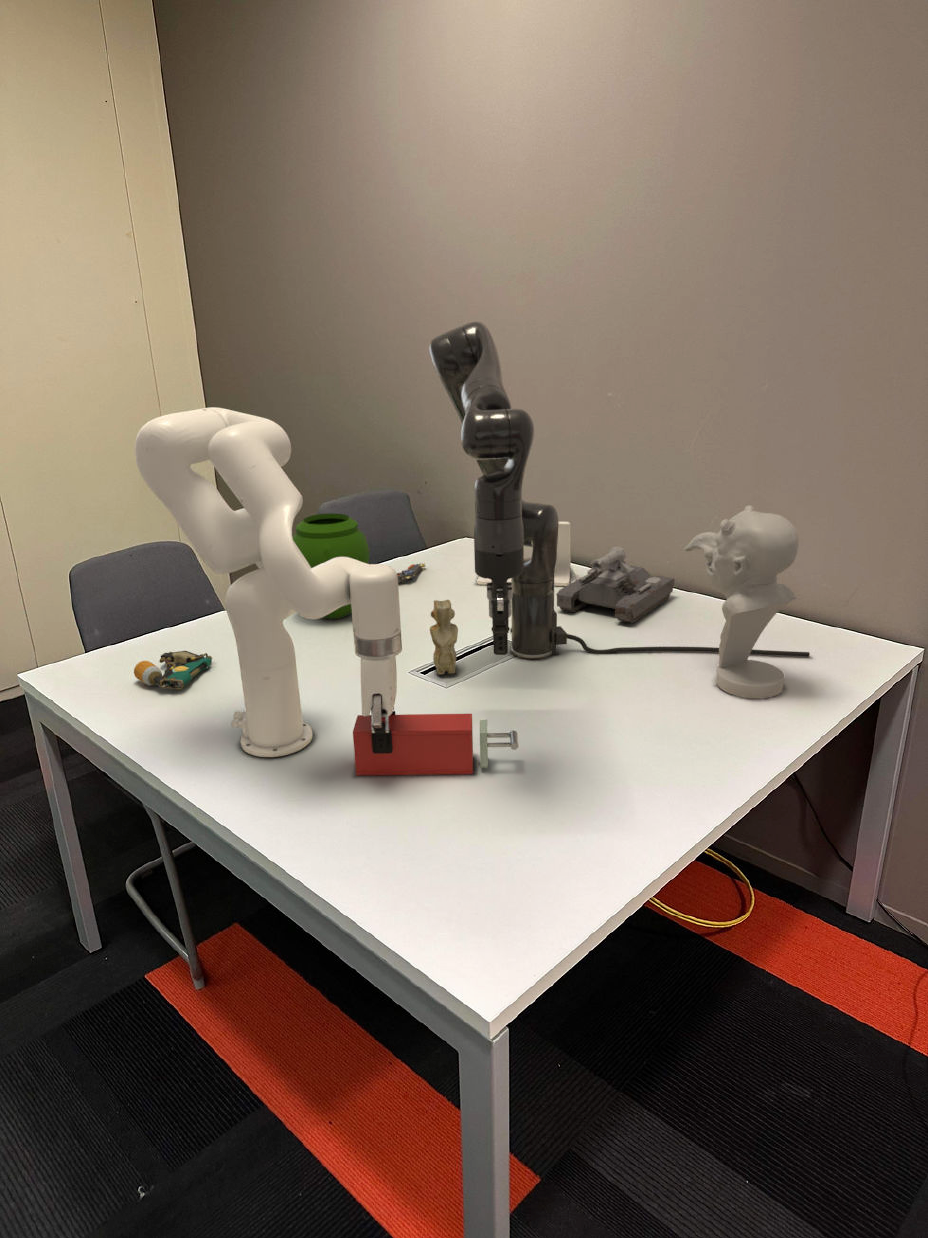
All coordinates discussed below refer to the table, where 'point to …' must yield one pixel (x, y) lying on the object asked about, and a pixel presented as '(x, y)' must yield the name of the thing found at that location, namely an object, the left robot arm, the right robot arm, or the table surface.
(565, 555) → the tablet stand
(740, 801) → the table surface
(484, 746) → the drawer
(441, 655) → the sculpture
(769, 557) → the bust sculpture
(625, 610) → the toy
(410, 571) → the toy gun
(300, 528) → the vase
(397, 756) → the cabinet
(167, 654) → the green toy blaster
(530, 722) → the table surface
